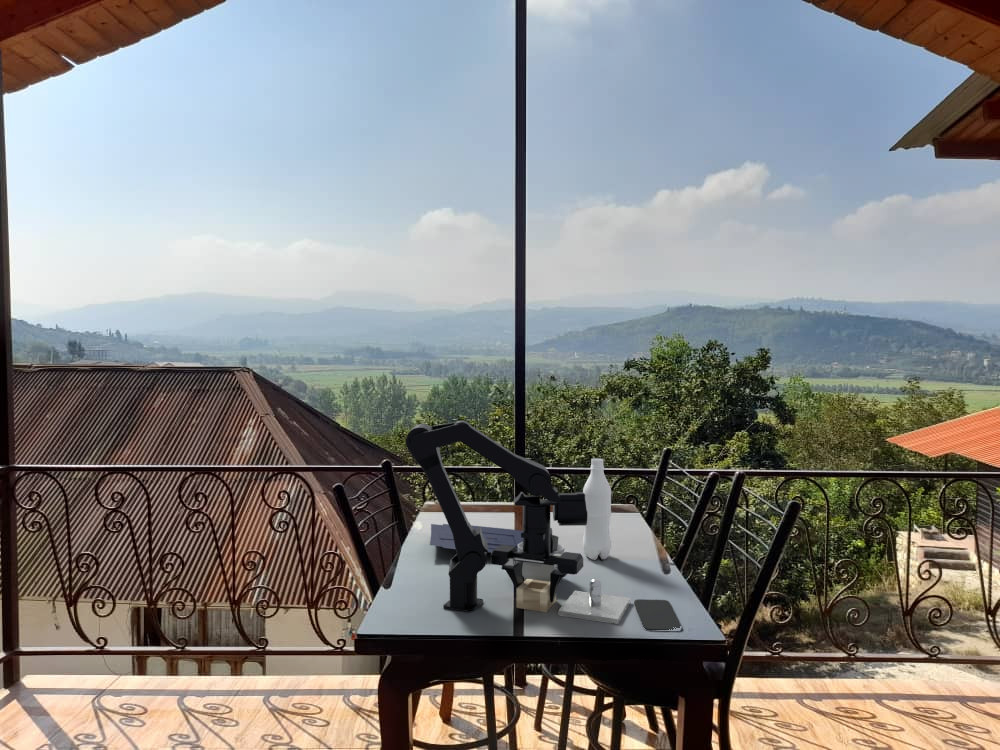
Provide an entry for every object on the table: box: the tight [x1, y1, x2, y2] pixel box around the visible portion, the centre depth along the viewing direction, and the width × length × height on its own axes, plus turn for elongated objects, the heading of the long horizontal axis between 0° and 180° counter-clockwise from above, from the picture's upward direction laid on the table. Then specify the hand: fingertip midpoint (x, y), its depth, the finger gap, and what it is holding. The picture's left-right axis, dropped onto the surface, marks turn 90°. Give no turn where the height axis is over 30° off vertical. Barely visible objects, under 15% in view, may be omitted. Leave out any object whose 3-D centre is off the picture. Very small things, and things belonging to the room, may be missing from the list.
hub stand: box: [558, 578, 631, 625], centre depth 144 cm, size 12×12×6 cm
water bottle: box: [582, 457, 612, 561], centre depth 178 cm, size 7×7×25 cm
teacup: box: [517, 542, 566, 582], centre depth 160 cm, size 14×11×8 cm
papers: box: [429, 523, 523, 553], centre depth 187 cm, size 24×30×4 cm
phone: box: [633, 598, 682, 631], centre depth 140 cm, size 7×1×15 cm
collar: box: [516, 579, 557, 613], centre depth 146 cm, size 6×6×4 cm
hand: (536, 599), depth 147 cm, fingers closed on collar, 6 cm apart
